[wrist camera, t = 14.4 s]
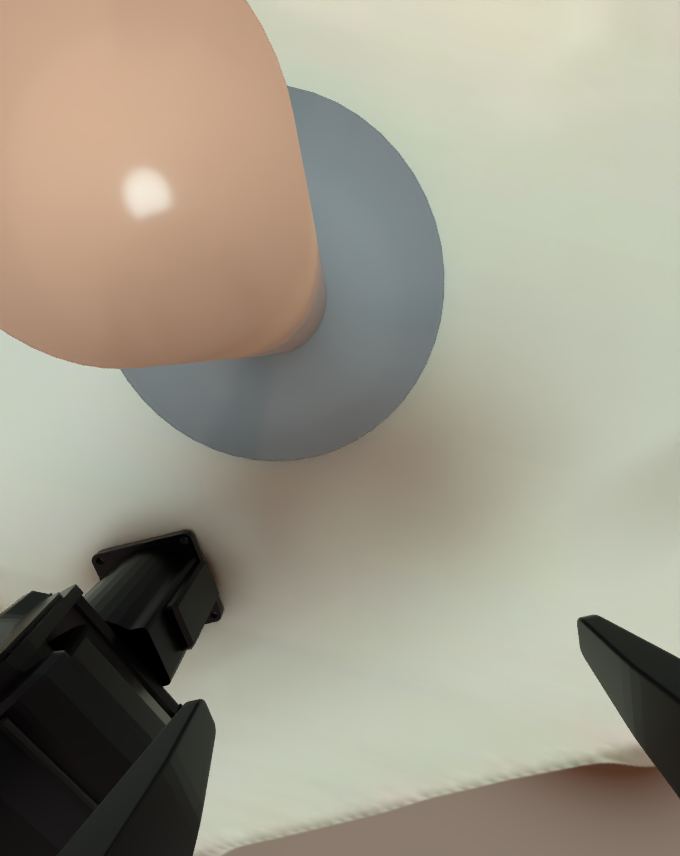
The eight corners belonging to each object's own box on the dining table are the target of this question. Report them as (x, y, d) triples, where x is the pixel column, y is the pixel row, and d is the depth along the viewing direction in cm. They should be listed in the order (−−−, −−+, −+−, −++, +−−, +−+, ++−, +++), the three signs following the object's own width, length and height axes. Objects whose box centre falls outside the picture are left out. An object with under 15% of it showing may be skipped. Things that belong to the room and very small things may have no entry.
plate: (173, 488, 21) (167, 493, 20) (42, 156, 17) (28, 147, 16) (466, 414, 20) (471, 417, 19) (400, 46, 16) (403, 30, 15)
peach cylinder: (209, 349, 18) (-85, 350, 6) (210, 224, 17) (-170, -145, 4) (321, 360, 18) (286, 385, 6) (331, 237, 17) (314, -82, 4)
